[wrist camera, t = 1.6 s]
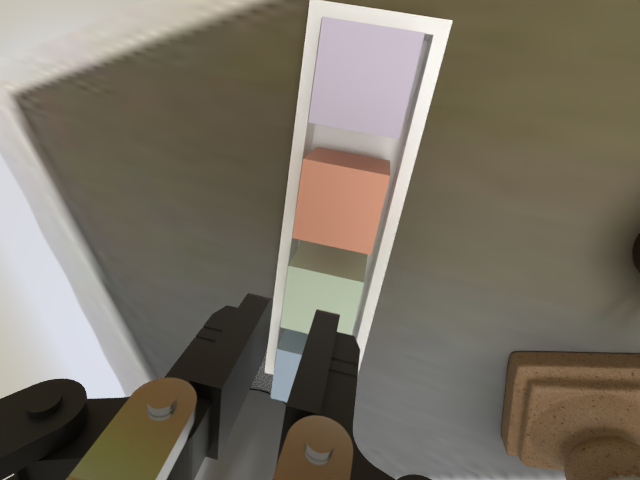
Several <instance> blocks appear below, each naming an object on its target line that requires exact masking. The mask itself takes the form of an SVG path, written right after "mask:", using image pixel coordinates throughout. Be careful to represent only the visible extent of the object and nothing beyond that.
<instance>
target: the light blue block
mask: <svg viewBox="0 0 640 480" xmlns="http://www.w3.org/2000/svg"><path fill="white" fill-rule="evenodd" d="M307 337H308V334H306V333H302V332H298V331H294V330H290V329H285V331H284V334H283V336H282V338H281V341H280V343H279V346H278V348H277V353H276V361H275V368H274V375H273V383H272V390H271V397H270V398H272V399H276V400H280V401H284V402H287V401H288V398H289V394H290V391H291V388H292V385H293V382H294V379H295V375H296V372H297V369H298V366H299V363H300V360H301V356H302V353H303V350H304V347H305V344H306V341H307Z"/></svg>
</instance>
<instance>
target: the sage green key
mask: <svg viewBox="0 0 640 480" xmlns="http://www.w3.org/2000/svg"><path fill="white" fill-rule="evenodd" d="M367 256H368V254H364V253H359V252H355V251H350V250H345V249H341V248H336V247H332V246H327V245H322V244H318V243H313V242H309V241H304V240H302V242H301V244H300V246H299V247H298V249H297V251H296V253H295V255H294V257H293V258H292V260H291V262H290V264H289V266H288V273H287V280H286V288H285V295H284V302H283V310H282V317H281V324H280V327H282V328H286V329H290V330H294V331H298V332H302V333H306V334H309V331H310V328H311V325H312V321H313V318H314V315H315V312H316V309H318V310H323V311H327V312H331V313H336V314H340V318H339V323H338V328H337V332H340V333H344V334H348V335H352V332H353V328H354V324H355V320H356V315H357V311H358V307H359V303H360V299H361V295H362V291H363V287H364V282H365V273H366V265H367Z"/></svg>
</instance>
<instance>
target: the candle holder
mask: <svg viewBox="0 0 640 480" xmlns="http://www.w3.org/2000/svg"><path fill="white" fill-rule="evenodd" d="M501 437H502V440H503V443H504V446H505V448H506V451H507V454H508V455H512V456H519V458H520V461H521V463H522V464H524V465H527V466H530V467H537V468H544V469H554V470H564V472H565V477H566V480H640V354H630V353H591V352H547V351H519V352H513V353H511V355H510V358H509V363H508V370H507V379H506V388H505V397H504V407H503V416H502V425H501Z"/></svg>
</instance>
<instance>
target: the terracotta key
mask: <svg viewBox="0 0 640 480" xmlns="http://www.w3.org/2000/svg"><path fill="white" fill-rule="evenodd" d="M389 180H390V160H385V159H379V158H374V157H369V156H364V155H359V154H353V153H348V152H343V151H338V150H332V149H327V148H322V147H316V148H315V149H314V150H313V151H311V152H310V153H309V154H308V155H307V156H306V157H305V158H303V163H302V171H301V178H300V185H299V193H298V200H297V207H296V215H295V222H294V229H293V237H292V238H295V239H299V240H304V241H309V242H313V243H318V244H322V245H327V246H332V247H336V248H341V249H345V250H350V251H355V252H359V253H364V254H368V255H371V254H372V250H373V245H374V241H375V237H376V233H377V229H378V225H379V221H380V217H381V213H382V208H383V204H384V200H385V196H386V192H387V188H388V184H389Z"/></svg>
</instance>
